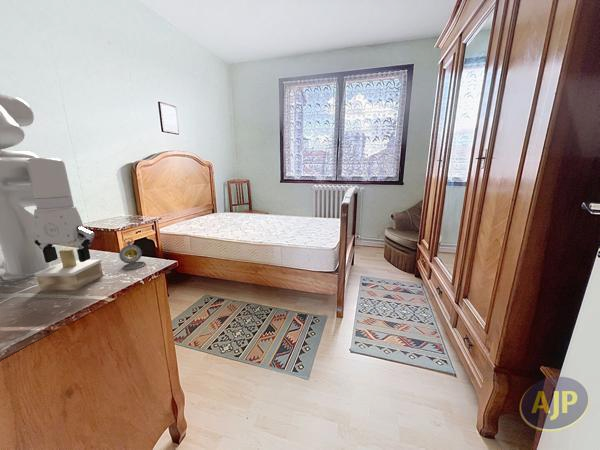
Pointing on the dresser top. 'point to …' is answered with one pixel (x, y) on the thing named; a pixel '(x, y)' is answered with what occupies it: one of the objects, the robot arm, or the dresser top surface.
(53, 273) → the lid
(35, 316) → the dresser top surface
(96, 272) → the keepsake box
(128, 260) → the pocket watch
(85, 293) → the dresser top surface
